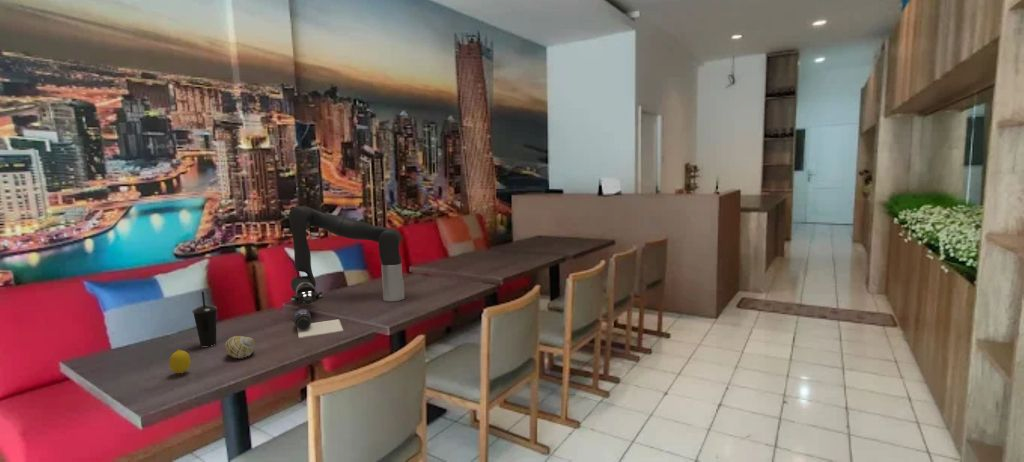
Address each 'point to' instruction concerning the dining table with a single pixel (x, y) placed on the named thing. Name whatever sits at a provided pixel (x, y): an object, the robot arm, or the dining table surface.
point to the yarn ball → (239, 346)
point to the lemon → (180, 361)
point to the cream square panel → (321, 328)
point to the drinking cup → (206, 323)
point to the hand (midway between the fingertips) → (308, 301)
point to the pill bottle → (302, 319)
